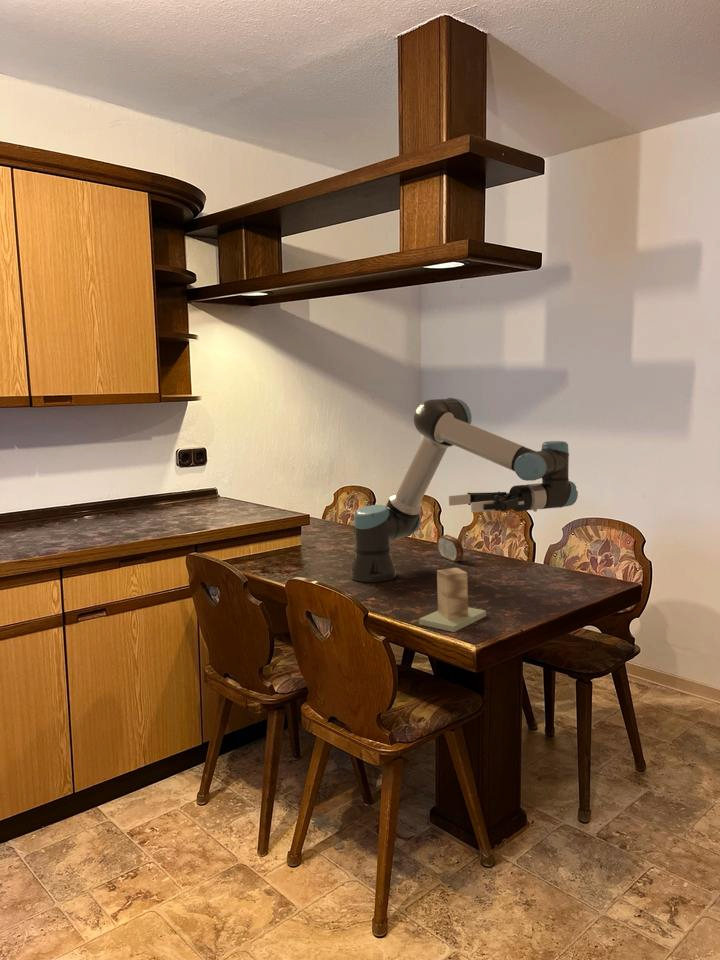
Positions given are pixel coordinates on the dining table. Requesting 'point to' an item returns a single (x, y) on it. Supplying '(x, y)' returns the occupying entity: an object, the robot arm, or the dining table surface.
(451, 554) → the tin
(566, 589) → the dining table surface
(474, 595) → the dining table surface
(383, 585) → the dining table surface
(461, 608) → the maple block
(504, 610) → the dining table surface
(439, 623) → the sage board
